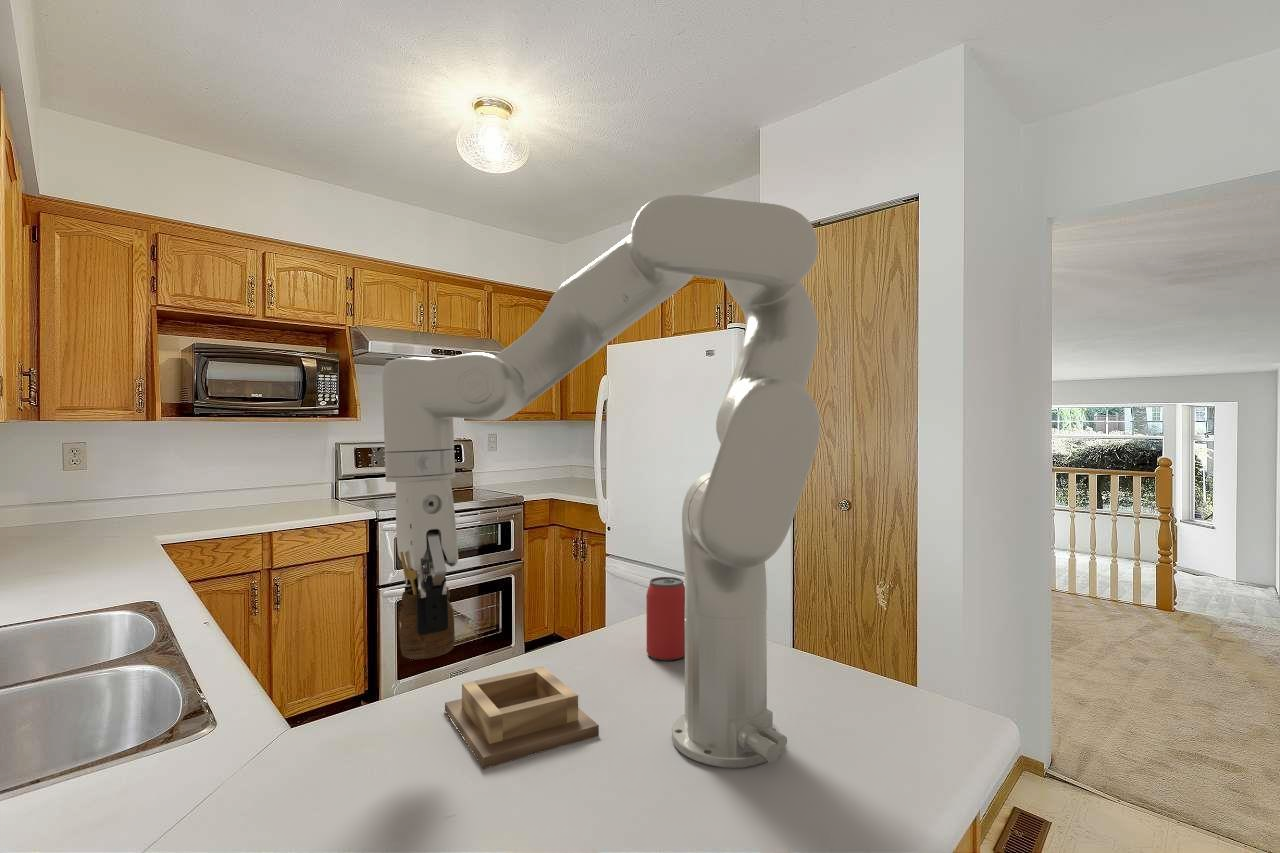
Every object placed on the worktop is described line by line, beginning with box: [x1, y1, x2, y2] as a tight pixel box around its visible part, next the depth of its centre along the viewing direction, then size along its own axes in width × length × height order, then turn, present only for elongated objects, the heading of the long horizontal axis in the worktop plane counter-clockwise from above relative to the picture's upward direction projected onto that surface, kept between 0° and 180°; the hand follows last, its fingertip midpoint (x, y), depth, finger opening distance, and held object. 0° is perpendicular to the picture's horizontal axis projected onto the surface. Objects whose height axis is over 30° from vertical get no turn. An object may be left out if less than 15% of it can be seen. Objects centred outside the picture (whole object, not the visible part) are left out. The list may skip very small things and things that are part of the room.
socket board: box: [444, 666, 600, 769], centre depth 78 cm, size 16×14×4 cm
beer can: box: [645, 576, 685, 662], centre depth 101 cm, size 7×7×12 cm
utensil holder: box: [398, 552, 456, 660], centre depth 71 cm, size 6×6×12 cm
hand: (426, 623), depth 72 cm, fingers closed on utensil holder, 5 cm apart
